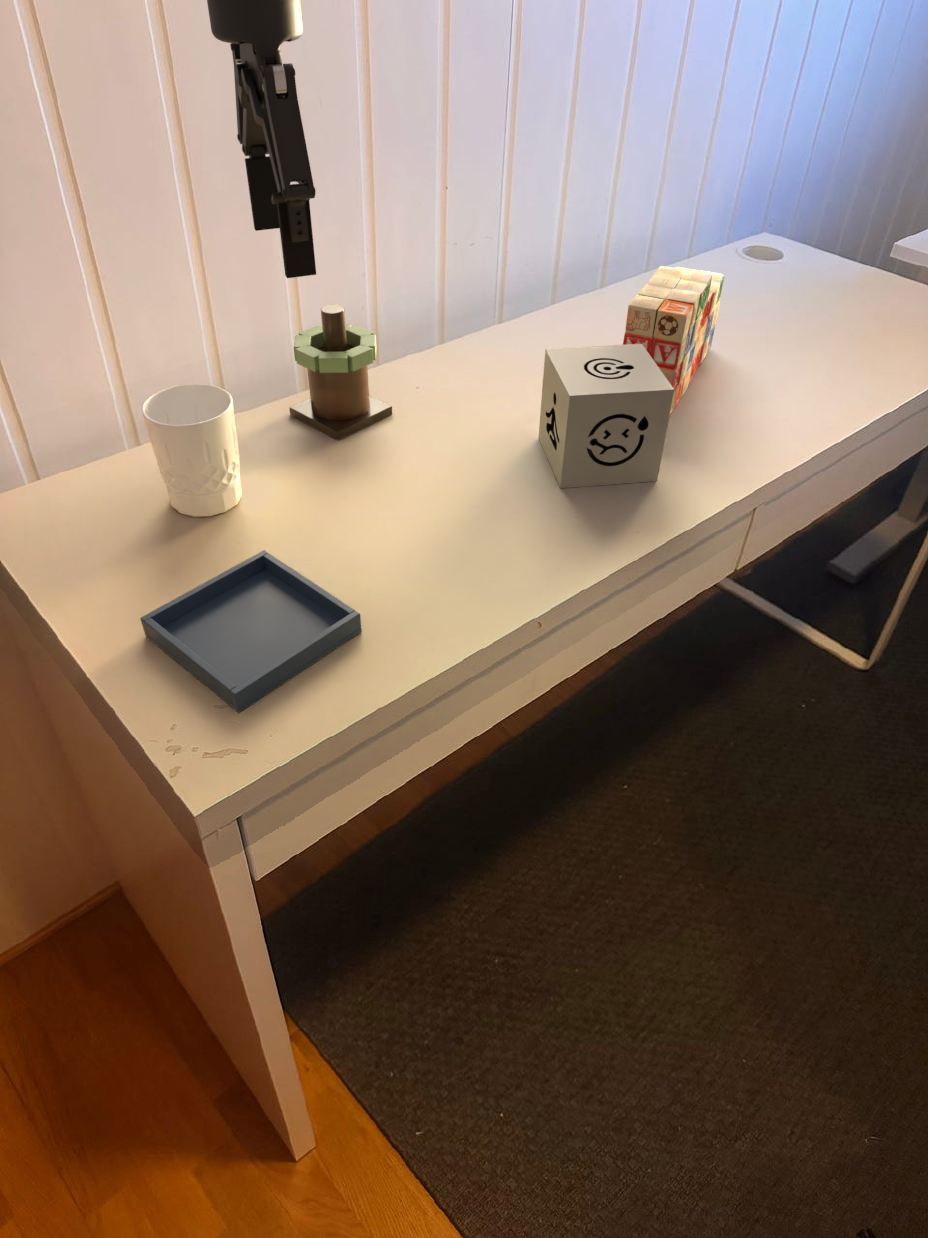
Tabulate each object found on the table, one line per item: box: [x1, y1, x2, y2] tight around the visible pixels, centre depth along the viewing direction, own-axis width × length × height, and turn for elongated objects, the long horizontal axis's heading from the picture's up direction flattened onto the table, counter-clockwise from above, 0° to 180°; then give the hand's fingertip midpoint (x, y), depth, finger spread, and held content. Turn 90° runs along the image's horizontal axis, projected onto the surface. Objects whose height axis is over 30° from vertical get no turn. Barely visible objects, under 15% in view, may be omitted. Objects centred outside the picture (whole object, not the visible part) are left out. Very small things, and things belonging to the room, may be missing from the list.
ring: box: [293, 323, 378, 373], centre depth 94 cm, size 8×8×2 cm
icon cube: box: [538, 344, 674, 489], centre depth 90 cm, size 10×10×10 cm
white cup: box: [141, 383, 243, 518], centre depth 83 cm, size 8×8×10 cm
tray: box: [140, 549, 363, 714], centre depth 71 cm, size 12×12×2 cm
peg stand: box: [289, 303, 393, 441], centre depth 95 cm, size 8×8×12 cm
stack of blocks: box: [622, 265, 725, 417], centre depth 103 cm, size 21×6×12 cm, turn 155°
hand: (283, 250), depth 86 cm, fingers open, 13 cm apart
